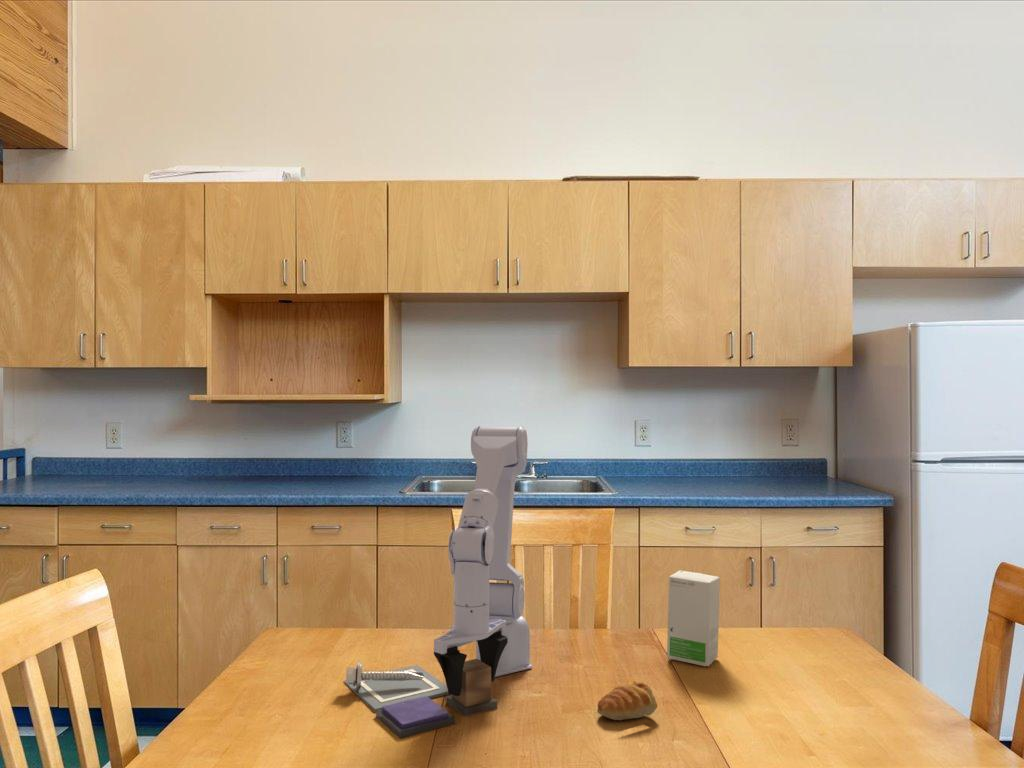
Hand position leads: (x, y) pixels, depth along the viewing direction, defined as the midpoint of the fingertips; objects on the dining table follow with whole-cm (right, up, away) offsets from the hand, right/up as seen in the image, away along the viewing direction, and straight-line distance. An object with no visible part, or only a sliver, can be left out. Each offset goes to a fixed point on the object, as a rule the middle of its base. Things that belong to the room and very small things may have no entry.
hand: (471, 687), depth 123 cm
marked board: (-13, -3, +7) cm, 15 cm away
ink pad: (-8, -3, -5) cm, 10 cm away
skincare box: (+41, -3, +22) cm, 46 cm away
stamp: (0, -3, 0) cm, 3 cm away
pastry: (+21, -4, -2) cm, 22 cm away
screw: (-15, -3, +6) cm, 16 cm away
